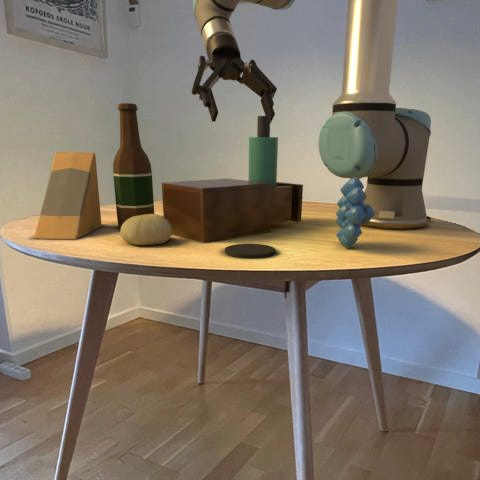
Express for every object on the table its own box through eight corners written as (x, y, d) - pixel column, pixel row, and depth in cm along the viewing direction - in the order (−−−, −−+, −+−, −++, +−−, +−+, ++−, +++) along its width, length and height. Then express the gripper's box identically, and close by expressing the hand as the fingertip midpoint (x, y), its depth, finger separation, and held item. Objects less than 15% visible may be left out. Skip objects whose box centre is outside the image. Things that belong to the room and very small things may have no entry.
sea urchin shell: (107, 231, 85) (133, 196, 86) (137, 256, 90) (160, 224, 91) (131, 238, 78) (158, 201, 80) (162, 266, 84) (187, 230, 85)
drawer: (274, 213, 113) (276, 179, 110) (314, 219, 104) (316, 183, 102) (210, 221, 101) (209, 184, 98) (248, 229, 92) (248, 189, 90)
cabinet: (227, 222, 105) (227, 178, 102) (269, 231, 96) (270, 183, 92) (164, 231, 95) (161, 182, 92) (204, 242, 85) (202, 188, 82)
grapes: (380, 256, 76) (389, 179, 72) (338, 255, 76) (345, 179, 72) (364, 241, 87) (371, 174, 83) (328, 240, 87) (333, 173, 83)
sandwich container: (31, 238, 88) (18, 154, 82) (64, 224, 102) (54, 151, 97) (76, 239, 87) (66, 154, 82) (102, 225, 102) (95, 152, 96)
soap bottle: (262, 212, 106) (264, 116, 99) (281, 216, 102) (284, 116, 95) (242, 215, 102) (243, 116, 95) (261, 218, 98) (263, 115, 91)
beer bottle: (162, 226, 101) (155, 104, 92) (138, 231, 95) (128, 101, 86) (135, 222, 105) (126, 105, 96) (110, 228, 98) (98, 102, 90)
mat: (251, 244, 84) (251, 241, 84) (285, 253, 78) (285, 249, 78) (214, 251, 79) (214, 248, 78) (247, 260, 73) (247, 257, 73)
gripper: (263, 63, 118) (287, 130, 112) (166, 56, 109) (186, 129, 102) (274, 36, 111) (300, 106, 105) (172, 26, 102) (193, 102, 96)
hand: (244, 117), depth 104 cm, fingers open, 13 cm apart
